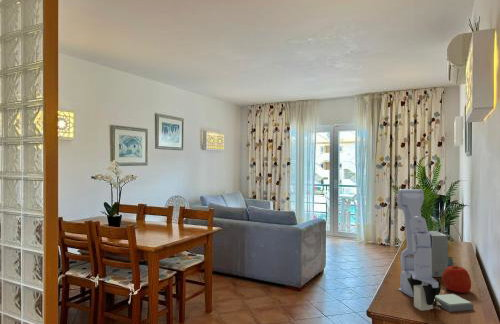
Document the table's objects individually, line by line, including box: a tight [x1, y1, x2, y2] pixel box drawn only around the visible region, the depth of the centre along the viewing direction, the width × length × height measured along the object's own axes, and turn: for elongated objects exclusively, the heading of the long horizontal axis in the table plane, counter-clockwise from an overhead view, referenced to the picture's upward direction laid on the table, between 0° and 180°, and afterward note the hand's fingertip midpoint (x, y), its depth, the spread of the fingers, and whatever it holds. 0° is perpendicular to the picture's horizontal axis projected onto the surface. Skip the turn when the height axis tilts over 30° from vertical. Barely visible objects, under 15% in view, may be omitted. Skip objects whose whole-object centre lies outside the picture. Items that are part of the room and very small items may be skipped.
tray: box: [435, 293, 474, 313], centre depth 134 cm, size 10×10×2 cm
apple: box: [441, 265, 472, 294], centre depth 150 cm, size 11×11×11 cm
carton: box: [413, 285, 434, 311], centre depth 132 cm, size 4×5×8 cm
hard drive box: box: [429, 230, 449, 278], centre depth 175 cm, size 16×8×20 cm, turn 168°
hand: (423, 300), depth 132 cm, fingers open, 7 cm apart
